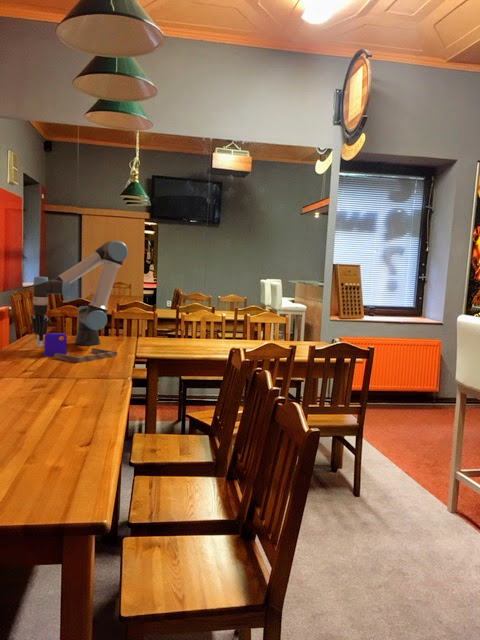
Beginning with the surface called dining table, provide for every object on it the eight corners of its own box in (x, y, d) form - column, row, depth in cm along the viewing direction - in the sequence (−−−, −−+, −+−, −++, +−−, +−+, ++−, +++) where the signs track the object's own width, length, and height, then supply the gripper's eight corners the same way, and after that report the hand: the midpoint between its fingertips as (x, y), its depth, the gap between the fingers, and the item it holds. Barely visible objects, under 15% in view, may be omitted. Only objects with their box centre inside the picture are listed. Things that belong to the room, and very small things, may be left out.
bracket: (66, 356, 274) (66, 334, 273) (44, 356, 270) (45, 334, 268) (63, 350, 290) (64, 330, 289) (43, 350, 286) (43, 329, 285)
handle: (94, 352, 289) (94, 348, 289) (116, 356, 281) (117, 351, 281) (54, 358, 265) (54, 353, 264) (78, 362, 257) (78, 357, 256)
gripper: (26, 303, 286) (26, 345, 289) (42, 305, 280) (42, 348, 282) (38, 303, 293) (37, 344, 295) (53, 305, 287) (53, 346, 289)
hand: (39, 346), depth 289 cm, fingers closed
